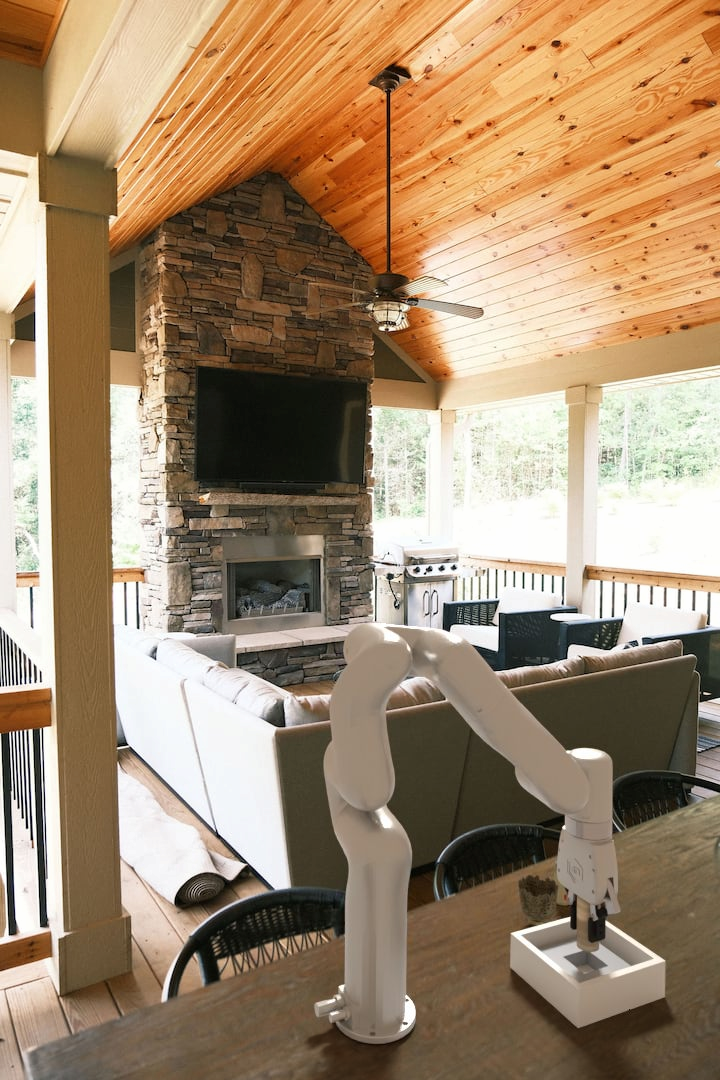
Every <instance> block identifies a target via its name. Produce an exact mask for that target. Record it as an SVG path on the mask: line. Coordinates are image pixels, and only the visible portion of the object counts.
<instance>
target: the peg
mask: <svg viewBox="0 0 720 1080" xmlns="http://www.w3.org/2000/svg"><path fill="white" fill-rule="evenodd" d="M597 907H598V909H600V904H598V905H597ZM590 917H591V910H590V903H588V902H587V901H585V900H583V899H582V898H580V897H579V896H577V947H578V948H579V949H581V950H583V951H586V952H595V951H597V950H598V949H599V941H597V942H594V943H591V942H589V941H588V918H590Z"/></svg>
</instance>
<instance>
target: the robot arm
mask: <svg viewBox="0 0 720 1080" xmlns="http://www.w3.org/2000/svg"><path fill="white" fill-rule="evenodd" d="M342 648H343V651H342V653H343V656H344V660H345V662H346V666H345V667H344V669H342V671H341V673H340V675H339V677H338V678H337V680H336V682H335V684H334V685H333V688H332V691H331V694H330V699H329V709H328V711H329V721H330V730H331V741H330V742H329V744H328V745H327V747H326V750H325V751H324V752H325V753H324V756H323V776H324V780H325V788H326V795H327V799H328V806H329V811H330V818H331V823H332V824H331V825H332V827H333V830H334V831H333V832H334V834H335V837H336V839H337V842H338V843H339V845H340V847H341V849H342V850H343V853H344V855H345V857H346V859H347V863H348V877H347V883H346V887H345V888H346V890H345V901H344V923H345V924H344V984H341V985H339V986H338V991H337V992H338V994H337V993H336V994H334V995H333V997H332V998H331V999H324V1000H321V1001H318V1002H314V1005H313V1007H314V1014H315V1016H316V1017H317V1018H320V1017H325V1016H327V1015H328V1020H329V1023H330V1024H333V1023H335V1024H336V1026H337V1028H338V1029H339V1030H340V1032H342V1033H343V1034H344V1035H345V1036H347V1037H348V1038H350V1039H352V1040H355V1041H357V1042H360V1043H364V1044H369V1045H370V1044H372V1045H381V1044H382V1045H383V1044H388V1043H392V1042H395V1041H398V1040H401V1039H402V1038H405V1036H406V1035H408V1034H409V1033H410V1032H412V1030H413V1028H414V1027H415V1024H416V1020H417V1019H416V1018H417V1016H416V1015H417V1011H416V1010H417V1009H416V1005H415V1004H414V1002H413V1000H411V998H410V997H409V996H408V995H407V951H408V950H407V943H408V942H407V938H408V935H407V934H408V933H407V932H408V929H407V928H408V912H407V911H408V893H409V892H408V890H409V889H408V888H409V883H410V877H411V870H412V861H413V850H412V845H411V842H410V839H409V837H408V833H407V832H406V830H405V829H404V826H403V825H402V824H401V823H400V822H399V820H398V818H396V816H395V815H394V814H393V813H392V812H391V810H390V809H389V808H388V806H387V804H388V802H389V801H390V800H391V798H392V797H393V795H394V791H395V785H396V777H395V768H394V763H393V759H392V753H391V747H390V746H391V745H390V741H389V740H390V739H389V735H388V727H387V725H388V723H387V713H386V712H387V711H386V710H387V706H388V702H389V700H390V698H391V696H392V695H393V693H394V692H395V690H396V689H397V688H398V687H400V686H401V684H402V683H403V682H405V680H406V679H407V677H413V678H417V677H418V678H425V679H426V680H429V681H430V682H431V683H433V685H435V687H436V688H437V689H438V691H440V693H441V694H442V695H443V696H444V698H446V699H447V701H448V702H449V703H450V704H451V705H452V706H453V708H455V710H456V711H457V712H458V713H459V715H460V716H461V717H462V718H463V719H464V720H465V722H466V723H467V724H468V725H469V727H470V728H471V729H472V730H473V731H474V733H475V734H476V735H477V736H479V737H480V739H482V741H483V742H484V743H486V744H487V745H489V746H490V747H491V748H492V749H493V750H494V751H496V752H497V753H499V754H500V755H501V756H503V757H504V758H505V759H506V760H507V761H508V762H510V763H511V764H512V765H513V766H514V774H515V777H516V780H517V781H518V783H519V785H520V786H521V787H522V788H523V789H524V790H526V792H528V793H529V794H530V795H532V796H533V797H534V798H536V799H538V800H539V801H540V802H541V803H543V804H544V805H546V806H547V807H548V808H549V809H551V811H554V812H556V813H558V814H561V815H564V825H563V826H562V827H561V828H562V829H561V832H560V835H559V842H558V849H557V859H556V860H557V878H558V881H559V882H560V883H561V884H562V885H563V886H564V887H565V890H566V892H567V894H568V902H569V904H570V906H569V907H570V911H569V912H570V913H569V914H570V916H569V917H570V928H571V929H573V930H576V929H577V896H579V897H580V898H582V899H583V900H585V901H587V902H588V903H590V910H591V917H590V918H588V941H589V942H591V943H594V942H597V941H601V940H604V939H605V933H606V921H607V920H606V918H609V916H610V915H614V914H617V913H620V912H622V911H621V907H620V903H619V901H618V898H617V897H618V889H619V881H618V880H619V878H618V877H619V876H618V875H619V874H618V862H617V855H616V854H617V853H616V847H615V841H614V839H613V784H614V783H613V781H614V780H613V778H614V777H613V776H614V775H613V770H614V769H613V767H614V766H613V759H612V757H611V756H610V755H609V754H608V753H607V752H606V751H603V750H600V749H598V748H596V749H595V748H590V747H589V748H588V747H580V748H579V747H578V748H573V749H571V750H566V748H564V746H563V745H562V744H561V743H560V742H559V741H558V740H557V739H556V738H555V736H554V735H553V734H551V732H550V731H548V729H547V728H545V727H544V725H542V723H541V722H540V721H538V719H537V718H536V717H535V716H534V715H533V714H532V712H530V711H529V710H528V709H527V708H526V707H525V706H524V704H523V703H521V701H520V700H518V698H517V697H516V696H515V695H514V694H513V692H511V690H510V689H509V688H508V687H507V686H506V684H505V683H504V682H503V681H502V679H501V678H500V677H499V676H498V675H497V674H496V672H495V671H494V670H493V669H492V667H491V666H490V665H489V664H488V662H487V661H486V660H485V659H484V657H482V655H481V654H480V653H479V652H478V650H477V649H476V648H475V647H474V646H473V645H472V644H471V643H470V641H468V640H467V639H465V638H464V637H462V636H459V635H457V634H455V633H452V632H451V631H447V630H445V629H440V628H433V627H422V626H421V627H420V626H419V627H418V626H407V625H398V624H386V623H377V622H376V623H375V622H367V623H362V624H360V625H357V626H356V627H354V628H353V629H351V630H350V632H349V633H348V634H347V636H346V637H345V639H344V642H343V647H342ZM598 904H599V905H600V907H599V909H598V907H597V905H598Z"/></svg>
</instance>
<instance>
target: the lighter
mask: <svg viewBox="0 0 720 1080" xmlns="http://www.w3.org/2000/svg"><path fill="white" fill-rule="evenodd" d="M557 860H558V859H556V860H555V861H554V865H553V866H554V867H553V880H555V882H556V886H557V885H558V894H557V902H556V905H559V906H569V905H570V904H569V902H568V894H567V892H566V890H565V887H564V886H563V885H562V884H561V883H560V882H559V881H558V878H557ZM570 906H571V905H570Z"/></svg>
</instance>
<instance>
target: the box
mask: <svg viewBox="0 0 720 1080" xmlns="http://www.w3.org/2000/svg"><path fill="white" fill-rule="evenodd" d="M509 952H510V953H509V955H510V957H509V959H510V963H509V966H510V969H511V970H513V971H514V972H515V974H517V975H518V976H519V977H520V978H522V980H523V981H525V982H526V983H527V984H528V985H529V986H530V987H531V988H532V989H534V991H536V992H537V993H538V994H539V995H540V996H542V998H544V999H545V1000H546V1001H547V1002H548V1003H549V1004H550V1005H552V1006H553V1007H554V1008H555V1009H556V1010H557V1011H558V1012H559V1013H561V1015H562V1016H564V1017H565V1018H566V1019H567V1020H568V1021H569V1022H570V1023H571V1024H573V1025H574V1026H575V1027H576V1028H577V1029H580V1028H583V1027H585V1026H588V1025H592V1024H593V1023H596V1022H599V1021H602V1020H605V1019H607V1018H611V1017H613V1016H616V1015H620V1014H621V1013H625V1012H627V1011H629V1009H630V1010H633V1009H636V1008H638V1007H641V1006H644V1005H646V1004H649V1003H652V1002H655V1001H657V1000H661V999H664V998H665V997H666V963H667V962H666V960H665V959H663V958H662V957H661V956H659V955H657V954H656V953H654V951H651V950H650V948H648V947H647V946H644V945H643V944H641V943H640V942H638V941H637V940H636V939H634V938H633V937H631V936H630V935H628V934H627V933H625V932H623V931H622V930H621V929H619V927H616V926H615V925H613V924H612V923H611V922H609V921H608V920H606V933H605V939H604V940H601V941H599V949H598V950H597V951H595V952H586V951H583V950H581V949H579V948H578V947H577V929H576V930H573V929H571V928H570V916H569V917H564V918H560V919H557V920H554V921H549V922H548V923H546V924H542V925H538V926H535V927H532V926H531V927H527V928H524V929H522V930H517V931H514V932H510V950H509Z"/></svg>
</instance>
